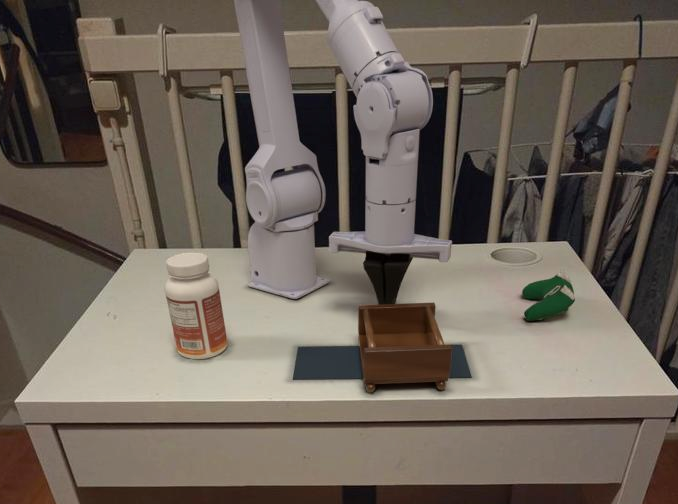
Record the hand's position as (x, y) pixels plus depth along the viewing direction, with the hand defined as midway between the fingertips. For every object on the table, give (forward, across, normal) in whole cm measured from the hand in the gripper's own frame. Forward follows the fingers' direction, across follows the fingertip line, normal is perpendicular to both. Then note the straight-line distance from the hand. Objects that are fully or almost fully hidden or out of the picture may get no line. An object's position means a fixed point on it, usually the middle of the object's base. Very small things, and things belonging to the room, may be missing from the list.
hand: (387, 312), depth 79 cm
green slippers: (+2, -19, -10) cm, 22 cm away
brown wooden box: (+2, -4, +10) cm, 11 cm away
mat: (+2, -2, +10) cm, 10 cm away
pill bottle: (+2, +20, +12) cm, 24 cm away
